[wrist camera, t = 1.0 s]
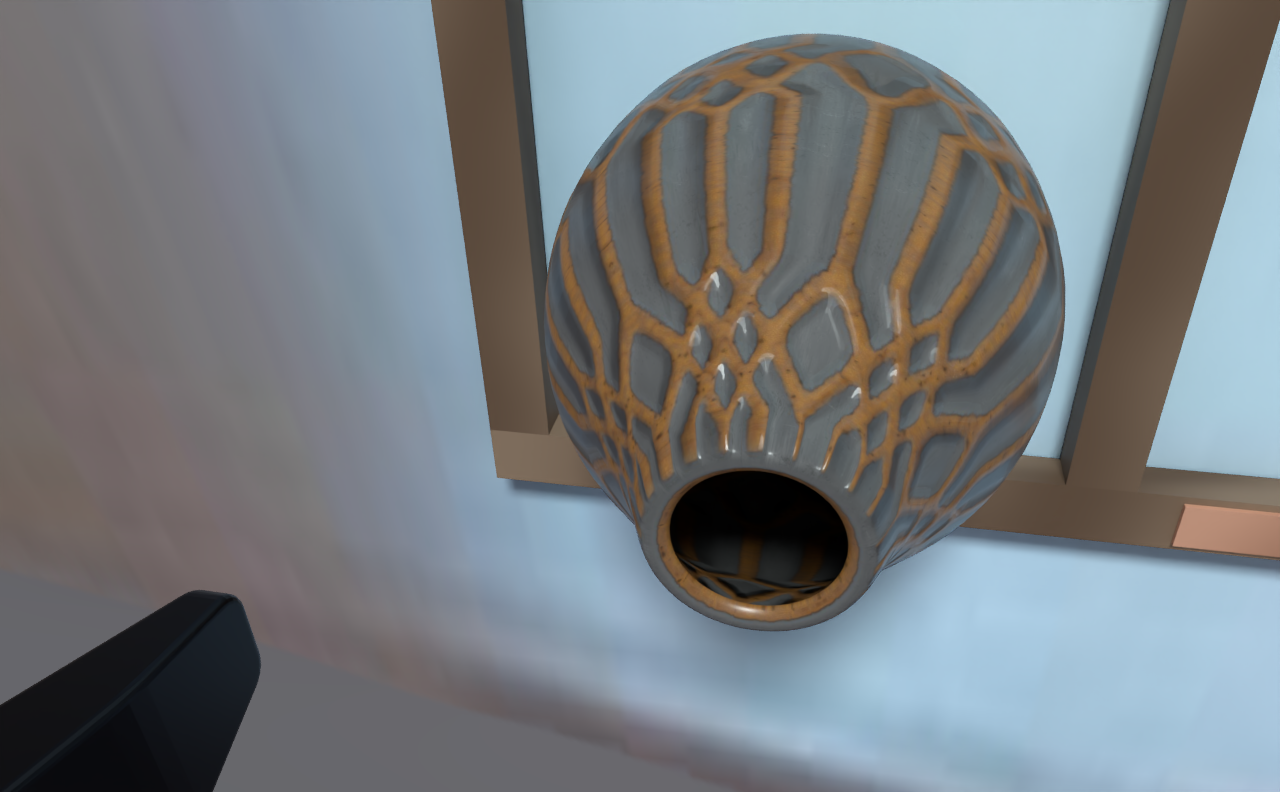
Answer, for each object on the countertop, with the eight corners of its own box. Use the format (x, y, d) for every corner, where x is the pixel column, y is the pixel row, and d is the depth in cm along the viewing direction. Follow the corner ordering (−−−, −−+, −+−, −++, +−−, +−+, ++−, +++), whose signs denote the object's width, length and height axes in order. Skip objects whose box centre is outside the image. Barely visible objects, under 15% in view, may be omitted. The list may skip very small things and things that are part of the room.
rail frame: (2465, -252, 11) (2579, -249, 10) (1793, 584, 17) (1833, 623, 17) (424, -202, 15) (401, -198, 14) (509, 454, 22) (495, 480, 21)
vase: (812, -121, 15) (732, 46, 8) (1127, 198, 16) (1307, 585, 9) (537, 204, 18) (310, 520, 11) (814, 437, 20) (769, 846, 13)
